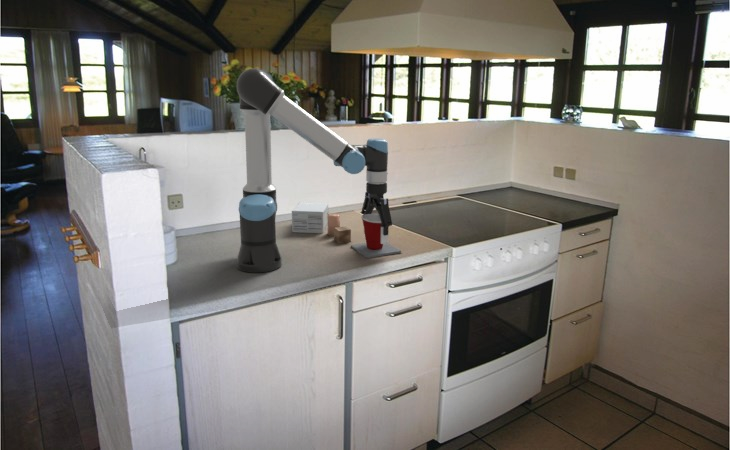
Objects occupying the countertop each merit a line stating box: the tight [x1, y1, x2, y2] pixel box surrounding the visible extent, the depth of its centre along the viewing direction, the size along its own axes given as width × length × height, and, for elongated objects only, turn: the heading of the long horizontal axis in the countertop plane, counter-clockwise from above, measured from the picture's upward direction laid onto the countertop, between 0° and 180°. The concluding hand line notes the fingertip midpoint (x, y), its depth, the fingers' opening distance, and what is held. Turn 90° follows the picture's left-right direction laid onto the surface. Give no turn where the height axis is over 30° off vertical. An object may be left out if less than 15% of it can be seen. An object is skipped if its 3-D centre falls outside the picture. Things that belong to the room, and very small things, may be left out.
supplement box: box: [291, 201, 329, 234], centre depth 233 cm, size 17×13×9 cm
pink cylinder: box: [327, 213, 341, 237], centre depth 224 cm, size 5×5×8 cm
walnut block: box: [333, 226, 352, 244], centre depth 216 cm, size 5×5×5 cm
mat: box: [350, 242, 402, 259], centre depth 205 cm, size 14×14×1 cm
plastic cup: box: [361, 213, 383, 250], centre depth 204 cm, size 11×11×12 cm
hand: (375, 238), depth 204 cm, fingers open, 13 cm apart
